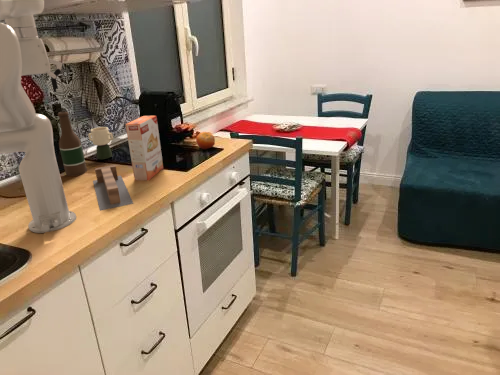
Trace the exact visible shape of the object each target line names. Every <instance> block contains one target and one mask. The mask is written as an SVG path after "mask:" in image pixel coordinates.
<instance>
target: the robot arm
mask: <svg viewBox="0 0 500 375" xmlns="http://www.w3.org/2000/svg"><path fill="white" fill-rule="evenodd" d="M44 9H45V0H0V20H1V21H2V20H5V21H4V22H5V23H3V22H1V21H0V155H3V154H11V153H21V152H22V153H23V152H24V157H23V158H22V159H21V161H20V163H19V166H18V167H19V168H18V171H19V175H20V178H21V183H22V185H23V189H24V192H25V193H24V194H25V198H26V199H27V203H28V206H29V210H30V211H29V212H30V214H31V217H32V220H31V221H30V222H28V225H27V226H28V229H29V231H30V232H32V233H35V234H36V233H37V234H45V233H47V232H54V231H58V230H60V229H63V228H66V227H68V226H70V225H72V224H73V223H74V222H75V221H76V220H77V215H76V213H75V211H72V210H70V209H69V206H68V202H67V201H68V200H67V198H66V193H65V189H64V186H63V181H62V178H61V174H60V169H59V166H58V162H57V156H56V153H55V152H56V151H55V145H54V132H53V125H52V122H51V120H50V118H48V117H47V116H46V115H44V114H43V113H42V114H41V113H36V110H35V106H34V105H33V103H32V101H31V99H30V98H29V96H28V94H27V93H26V91H25V89H24V88H23V85H22V76H32V75H42V74H47V75H48V76H49V77H50V82H51V85H52V90H53V92H54V93H57V89H59V87H58V83H57V82H58V81H57V78H58V76H59V75H60V73H61V71H62V68H63V63H62V62H60V61H59V60H55V59H53V58H50V57H48V53H47V50H46V47H45V46H46V45H45V44H44V41H43V39H42V38H39V34H38V30H37V26H36V20H35V18H34V15H39V14H42V13H43V12H44ZM51 64H53V65H55V66H56V69H55V71H54V72H53V71H52V70H51Z"/></svg>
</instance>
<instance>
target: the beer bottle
mask: <svg viewBox="0 0 500 375" xmlns="http://www.w3.org/2000/svg"><path fill="white" fill-rule="evenodd" d="M69 115H70V113H69V112H68V111H59V112H57V116H58V119H59V124H60V126H59V127H60V130H61V135H60V137H59V138H58V140H59V141H58V146H59V151H60V156H61V160H62V164H63V168H64V172H65V175H66V176H68V177H73V176H74V177H75V176H79V175H83V174H85V173H87V171H88V169H87V164H86V159H85V155H84V151H83V145H82V143H81V139H80V138H79V136H78V135H77V134H76V133H75V132H74V129H73V127H72V123H71V120H70V117H69Z"/></svg>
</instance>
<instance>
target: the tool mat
mask: <svg viewBox="0 0 500 375" xmlns="http://www.w3.org/2000/svg"><path fill="white" fill-rule="evenodd" d="M117 176H118V180H115V182H116V184H117V187H118V191H119V196H120V201H121V203H116V204H110V200H109V197H108V194H107V191H106V188H105V184H104V182H102V183H98V182H97V179H94V180H92V183H93V188H94V191H95V192H94V193H95V196H96V200H97V204H98V208H99V212H101V211H105V210H109V209H115V208H119V207H123V206H130V205H134V204H135V203H134V201H133V199H132V197H131V195H130V193H129V190H128V188H127V185H126V184H125V181H124V180H123V177H122V175H117Z"/></svg>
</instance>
